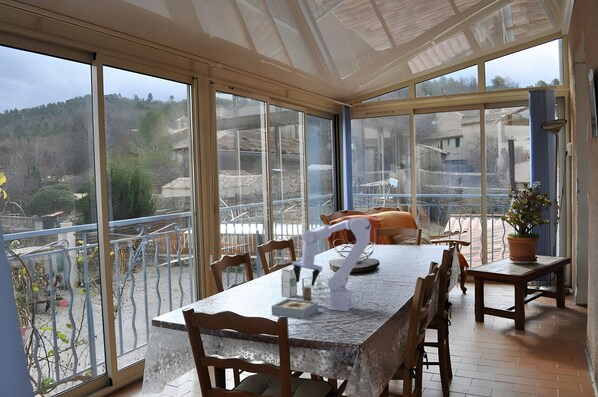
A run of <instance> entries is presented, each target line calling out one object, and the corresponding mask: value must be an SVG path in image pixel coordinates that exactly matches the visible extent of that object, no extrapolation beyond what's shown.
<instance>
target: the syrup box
mask: <svg viewBox="0 0 598 397" xmlns="http://www.w3.org/2000/svg"><path fill="white" fill-rule="evenodd" d="M293 268H294V266H287V267H283V268H282V267H281V269H280V270H281V271H280V272H281V275H280V276H281V278H280V279H281V297H282V298H283V297H284V298H288V299H292V298H293V297H297V296H298V282H296V275H295V272H294V270H293Z"/></svg>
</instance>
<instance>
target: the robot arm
mask: <svg viewBox="0 0 598 397" xmlns="http://www.w3.org/2000/svg"><path fill="white" fill-rule="evenodd" d="M345 229H346V230H348V231H351V232H352V233H353V235H354V236H355V240H356V241H355V243H354V245H353V246H352V247H351V249H350V251H349V253H348V254H347V256H346V257H345V259H344V261H343V262H342V264H341V266H339V269H337V270H336V272H334V274H333V275H332V276H329V278H328V281H327V286H328V288H329V293H330V296H329V300H330V306H328V307H327V308H326V309H327V310H331V311H339V312H348V311H349V310H351V309H353V294H352V290H350V289H349V290H348V289H347V287H346V285H347V284H348V283H349V277H350V276H351V274H350V273H351V272H352V270H353V269H354V267H355V265H356V264H357V262H358V261H359V259H360V258H361V256H362V255H363V253H364V251H365V250H366V248H367V246H368V245H369V244H370V242H371V241H370V240H371V239H370V238H371V229H372V225H371V222H370V220H369V219H368V218H367V217H366V216H361V217H359V218H358V217H356V218H350V219H345V220H343V221H341V222H340V221H339V222H338V223H335V224H332V225H329V224H325V223H324V224H323V223H322V224H320V226H318V227H312V228H311V229H310V230H306V231H305V232H303V233H302V240H303V247H302V257H301V261H295V260H294V261H292V263H291V267H294V268H293V270H294V272H295V275H296V282H297V283H299V282H300V277H301V270H302V268H303V269H308V270H313V271H312V278H311V286H314V285H316V284H315V283H316V280H317V278H318V277H319V275H320V273H321V272H323V266H321V265H317V264H314V263H315V256H316V247H317V241H320V240H324V239H327V238H330V237H331V236H332V233H335V232H339V231H342V230H345Z"/></svg>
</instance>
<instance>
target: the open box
mask: <svg viewBox="0 0 598 397" xmlns="http://www.w3.org/2000/svg"><path fill="white" fill-rule="evenodd" d="M290 301H293V302H302V303H311V305H310V306H308V307H306V308H304V309H298V308H289V307H281V305H283V304H285V303H287V302H290ZM317 312H319V302H318V301H313V300H311V301H304V300H303V299H295V298H285V299H283V300H281V301H279V302H277V303H275V304H273V305H271V315H272V316H279V317H284V316H287V317H286V318H293V319H301V320H305V319H307V318H308V317H310V316H312V315H314V314H315V313H317Z"/></svg>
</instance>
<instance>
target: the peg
mask: <svg viewBox="0 0 598 397" xmlns="http://www.w3.org/2000/svg"><path fill="white" fill-rule="evenodd" d="M302 300H304V301H312V288H311V287H309V286H308V287H302Z"/></svg>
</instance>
